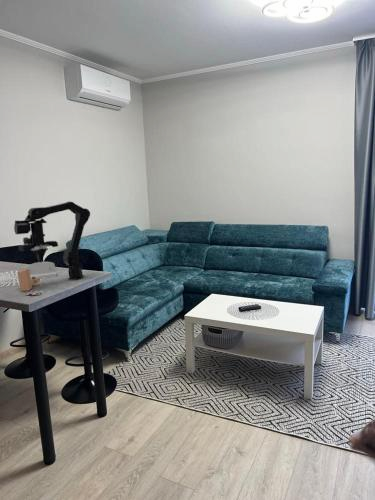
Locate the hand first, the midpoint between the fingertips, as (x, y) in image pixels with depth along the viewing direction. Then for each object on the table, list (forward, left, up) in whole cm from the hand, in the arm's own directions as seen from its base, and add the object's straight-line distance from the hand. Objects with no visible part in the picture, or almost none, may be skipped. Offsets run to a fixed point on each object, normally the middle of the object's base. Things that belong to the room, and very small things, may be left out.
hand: (40, 262), depth 190 cm
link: (+6, +3, -12) cm, 14 cm away
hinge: (+12, -16, -13) cm, 24 cm away
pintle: (+7, -2, -13) cm, 14 cm away
